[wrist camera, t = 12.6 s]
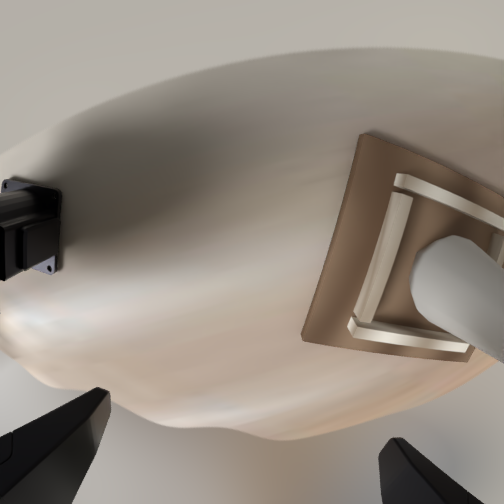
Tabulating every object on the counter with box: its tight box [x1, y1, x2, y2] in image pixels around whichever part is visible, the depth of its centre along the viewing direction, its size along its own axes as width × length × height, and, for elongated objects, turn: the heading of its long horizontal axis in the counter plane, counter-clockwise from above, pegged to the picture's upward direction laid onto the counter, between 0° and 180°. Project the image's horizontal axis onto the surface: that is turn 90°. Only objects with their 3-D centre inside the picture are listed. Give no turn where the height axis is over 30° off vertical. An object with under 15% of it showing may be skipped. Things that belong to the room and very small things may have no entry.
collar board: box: [301, 133, 504, 362], centre depth 19 cm, size 16×14×2 cm
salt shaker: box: [409, 235, 504, 363], centre depth 13 cm, size 6×6×13 cm
